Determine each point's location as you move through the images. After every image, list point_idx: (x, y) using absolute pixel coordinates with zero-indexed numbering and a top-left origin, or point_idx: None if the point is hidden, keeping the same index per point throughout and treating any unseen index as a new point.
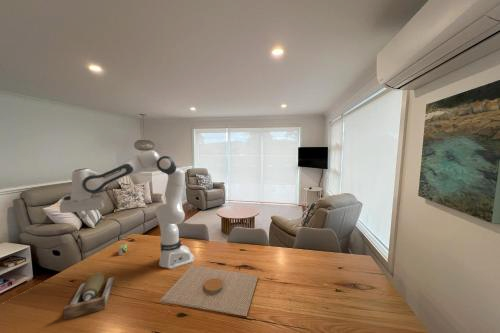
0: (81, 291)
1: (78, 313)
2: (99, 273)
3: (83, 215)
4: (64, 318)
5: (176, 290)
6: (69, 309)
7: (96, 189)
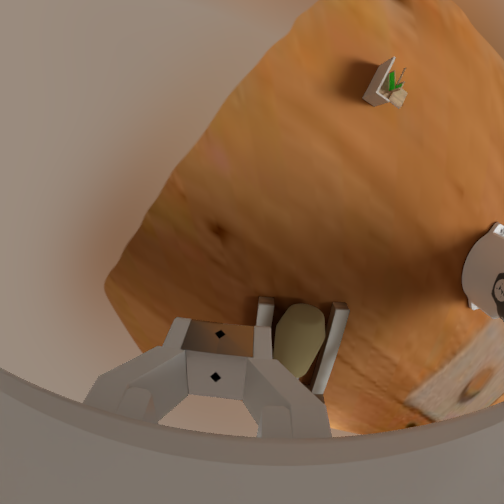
0: None
1: None
2: (315, 330)
3: (225, 389)
4: None
5: (437, 383)
6: None
7: None
